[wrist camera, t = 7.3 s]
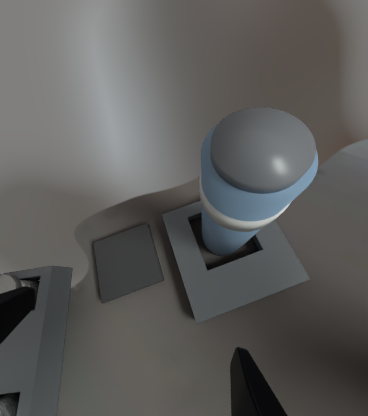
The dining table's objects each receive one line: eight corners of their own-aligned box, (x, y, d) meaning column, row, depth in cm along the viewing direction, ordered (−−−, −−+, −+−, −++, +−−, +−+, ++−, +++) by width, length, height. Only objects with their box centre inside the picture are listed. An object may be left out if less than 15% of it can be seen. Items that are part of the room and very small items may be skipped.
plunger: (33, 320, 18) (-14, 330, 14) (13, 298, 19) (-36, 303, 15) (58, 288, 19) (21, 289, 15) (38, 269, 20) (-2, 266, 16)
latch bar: (55, 427, 16) (22, 460, 13) (-1, 434, 16) (-46, 468, 13) (72, 267, 22) (52, 265, 19) (30, 274, 22) (3, 273, 19)
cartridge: (231, 265, 20) (303, 224, 6) (193, 242, 21) (175, 163, 7) (250, 229, 21) (347, 121, 7) (213, 209, 23) (232, 87, 8)
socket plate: (197, 320, 18) (196, 323, 17) (164, 218, 23) (161, 214, 22) (302, 279, 19) (310, 279, 17) (249, 187, 23) (252, 181, 22)
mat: (105, 302, 20) (101, 303, 19) (96, 243, 22) (93, 242, 22) (164, 280, 20) (162, 280, 19) (148, 225, 23) (147, 223, 22)
